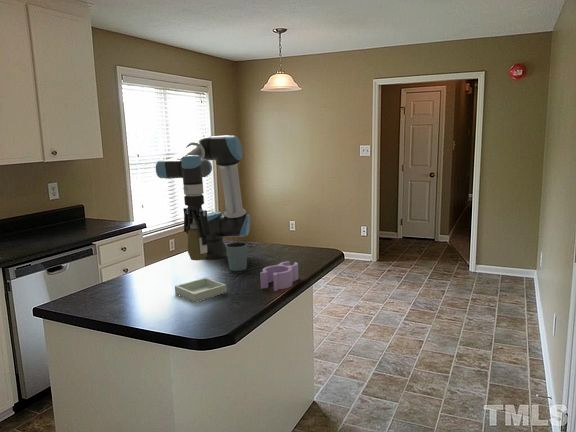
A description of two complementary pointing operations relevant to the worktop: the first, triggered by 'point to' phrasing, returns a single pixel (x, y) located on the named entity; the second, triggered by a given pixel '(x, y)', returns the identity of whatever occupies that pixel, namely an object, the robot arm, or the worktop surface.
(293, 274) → the clip
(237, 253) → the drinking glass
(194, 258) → the squeeze bottle
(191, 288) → the tray
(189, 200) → the robot arm
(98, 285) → the worktop surface
